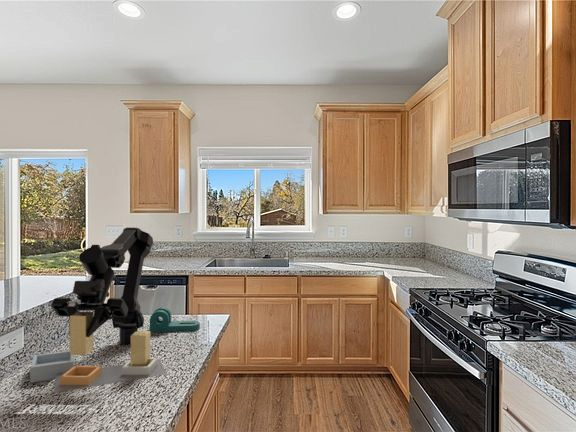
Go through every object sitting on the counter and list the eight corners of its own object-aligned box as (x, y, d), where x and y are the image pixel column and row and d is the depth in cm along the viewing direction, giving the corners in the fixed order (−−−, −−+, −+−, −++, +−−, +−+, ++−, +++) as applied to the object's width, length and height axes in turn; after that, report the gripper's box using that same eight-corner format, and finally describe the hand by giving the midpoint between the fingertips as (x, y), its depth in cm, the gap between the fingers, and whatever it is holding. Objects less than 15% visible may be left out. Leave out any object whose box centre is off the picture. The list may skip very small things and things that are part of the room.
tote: (34, 369, 115) (34, 355, 115) (74, 363, 119) (74, 350, 119) (30, 382, 106) (30, 367, 106) (73, 376, 110) (73, 361, 110)
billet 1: (77, 349, 107) (78, 311, 107) (93, 349, 107) (93, 312, 107) (69, 354, 103) (69, 315, 103) (85, 355, 103) (85, 316, 103)
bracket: (149, 332, 150) (149, 311, 150) (153, 327, 157) (153, 307, 157) (198, 331, 153) (199, 310, 153) (200, 326, 160) (200, 306, 160)
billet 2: (135, 366, 113) (136, 331, 113) (150, 366, 114) (150, 331, 113) (130, 372, 109) (130, 335, 109) (145, 372, 110) (145, 335, 109)
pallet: (56, 380, 108) (56, 367, 108) (159, 363, 120) (159, 352, 120) (53, 399, 97) (53, 384, 97) (166, 379, 109) (166, 366, 109)
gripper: (54, 267, 108) (28, 320, 98) (124, 268, 109) (105, 320, 98) (70, 291, 117) (47, 341, 106) (135, 291, 117) (119, 342, 106)
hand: (79, 336), depth 103 cm, fingers closed on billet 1, 4 cm apart
